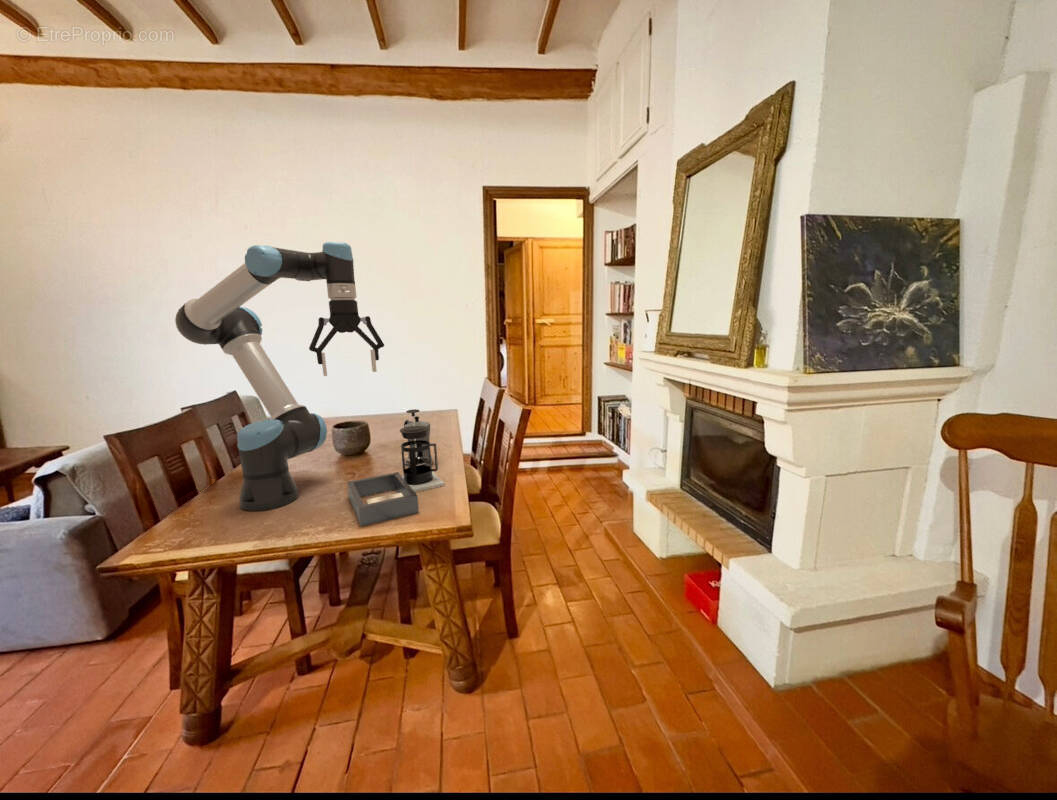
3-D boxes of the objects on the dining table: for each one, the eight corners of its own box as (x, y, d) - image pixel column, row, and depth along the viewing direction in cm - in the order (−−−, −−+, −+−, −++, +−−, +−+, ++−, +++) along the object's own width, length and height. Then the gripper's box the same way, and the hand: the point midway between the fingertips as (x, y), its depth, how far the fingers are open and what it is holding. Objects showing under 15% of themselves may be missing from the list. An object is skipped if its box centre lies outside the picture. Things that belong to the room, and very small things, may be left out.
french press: (397, 485, 137) (391, 413, 133) (405, 474, 147) (400, 407, 142) (434, 484, 137) (429, 412, 133) (441, 474, 146) (436, 406, 142)
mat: (409, 493, 133) (409, 490, 133) (398, 479, 145) (398, 476, 145) (444, 485, 139) (444, 482, 139) (431, 472, 151) (431, 470, 151)
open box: (360, 526, 113) (358, 508, 112) (348, 497, 132) (347, 481, 131) (418, 512, 120) (417, 495, 119) (399, 487, 139) (398, 472, 138)
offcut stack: (368, 522, 115) (366, 505, 114) (365, 516, 119) (363, 499, 118) (410, 512, 120) (408, 496, 119) (406, 506, 124) (404, 490, 123)
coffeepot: (441, 465, 158) (438, 416, 155) (418, 472, 152) (414, 421, 149) (418, 456, 169) (415, 411, 166) (396, 462, 163) (392, 415, 159)
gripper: (294, 299, 116) (304, 378, 120) (390, 298, 128) (396, 371, 132) (293, 300, 123) (302, 376, 127) (384, 300, 135) (390, 368, 139)
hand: (350, 373), depth 130 cm, fingers open, 13 cm apart
